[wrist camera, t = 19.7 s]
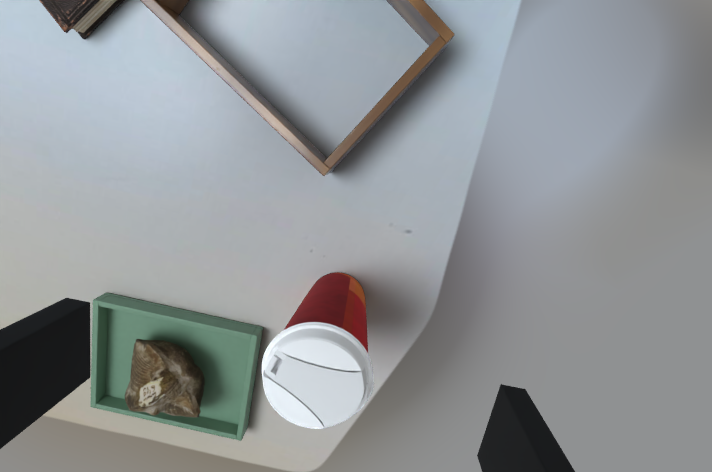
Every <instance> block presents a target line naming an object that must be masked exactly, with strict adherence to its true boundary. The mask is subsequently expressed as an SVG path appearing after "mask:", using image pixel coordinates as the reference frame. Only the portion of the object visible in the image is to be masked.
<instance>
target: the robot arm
mask: <svg viewBox="0 0 712 472" xmlns="http://www.w3.org/2000/svg"><path fill="white" fill-rule="evenodd" d="M89 378H90V302H85V301H80V300H74V299H69V298H65V299H63V300H61V301H59V302H57V303H55V304H53V305H51V306H49V307H47V308H44V309H42V310H40V311H38V312H36V313H34V314H32V315H30V316H28V317H26V318H24V319H22V320H20V321H18V322H15V323H13V324H11V325H9V326H7V327H5V328H3V329H1V330H0V449H1V448H2V447H3V446H4V445H6V444H7V443H8V442H9V441H11V440H12V439H13V438H14V437H16V436H17V435H18V434H20V433H21V432H22V431H23V430H25V429H26V428H27V427H28V426H30V425H31V424H32V423H33V422H35V421H36V420H37V419H38V418H40V417H41V416H42V415H43V414H45V413H46V412H47V411H48V410H50V409H51V408H52V407H53V406H55V405H56V404H57V403H58V402H60V401H61V400H62V399H63V398H65V397H66V396H67V395H68V394H70V393H71V392H72V391H74V390H75V389H76V388H77V387H79V386H80V385H81V384H82V383H84V382H85V381H86V380H87V379H89ZM477 456H478V459H479V462H480V465H481V469H482V472H575V471H574V469H573V468H572V466H571V464H570V463H569V461H568V459H567V458H566V456H565V454H564V453H563V451H562V449H561V448H560V446H559V445H558V443H557V441H556V439H555V438H554V436H553V434H552V433H551V431H550V429H549V428H548V426H547V424H546V423H545V421H544V420H543V418H542V416H541V415H540V413H539V411H538V410H537V408H536V406H535V405H534V403H533V401H532V400H531V398H530V396H529V395H528V393H527V391H526V390H525V389H521V388H516V387H511V386H506V385H501V386H500V389H499V392H498V394H497V397H496V401H495V404H494V407H493V410H492V413H491V416H490V419H489V422H488V425H487V428H486V431H485V434H484V437H483V440H482V443H481V446H480V449H479V452H478V455H477Z"/></svg>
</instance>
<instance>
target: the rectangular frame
mask: <svg viewBox="0 0 712 472" xmlns="http://www.w3.org/2000/svg"><path fill="white" fill-rule="evenodd" d="M140 1H142V2H143V3H144V4H145V5H146V6H147V7H148V8H149V9H150V10H151V11H152V12H153V13H154V14H155V15H156V16H157V17H158V18H159V19H160V20H161V21H162V22H163V23H164V24H165V25H167V26H168V27H169V28H170V29H171V30H172V31H173V32H174V33H175V34H176V35H177V36H178V37H179V38H180V39H181V40H182V41H183V42H184V43H185V44H186V45H187V46H188V47H189V48H191V49H192V50H193V51H194V52H195V53H196V54H197V55H198V56H199V57H200V58H201V59H202V60H203V61H204V62H205V63H206V64H207V65H208V66H209V67H210V68H211V69H212V70H213V71H215V72H216V73H217V74H218V75H219V76H220V77H221V78H222V79H223V80H224V81H225V82H226V83H227V84H228V85H229V86H230V87H231V88H232V89H233V90H234V91H235V92H236V93H237V94H239V95H240V96H241V97H242V98H243V99H244V100H245V101H246V102H247V103H248V104H249V105H250V106H251V107H252V108H253V109H254V110H255V111H256V112H257V113H258V114H259V115H260V116H261V117H262V118H264V119H265V120H266V121H267V122H268V123H269V124H270V125H271V126H272V127H273V128H274V129H275V130H276V131H277V132H278V133H279V134H280V135H281V136H282V137H283V138H284V139H285V140H286V141H288V142H289V143H290V144H291V145H292V146H293V147H294V148H295V149H296V150H297V151H298V152H299V153H300V154H301V155H302V156H303V157H304V158H305V159H306V160H307V161H308V162H309V163H310V164H312V165H313V166H314V167H315V168H316V169H317V170H318V171H319V172H320V173H321V174H322V175H323V176H325V175H327V174H329V173H331V172H332V171H333V169H334V168H335V167H336V166H337V165H338V164H339V163H340V162H341V161H342V160H343V159H344V158H345V157H346V155H347V154H348V153H349V152H350V151H351V150H352V149H353V148H354V147H355V146H356V145H357V144H358V142H359V141H360V140H361V139H362V138H363V137H364V136H365V135H366V134H367V133H368V132H369V131H370V129H371V128H372V127H373V126H374V125H375V124H376V123H377V122H378V121H379V120H380V119H381V118H382V116H383V115H384V114H385V113H386V112H387V111H388V110H389V109H390V108H391V107H392V106H393V105H394V103H395V102H396V101H397V100H398V99H399V98H400V97H401V96H402V95H403V94H404V93H405V92H406V91H407V89H408V88H409V87H410V86H411V85H412V84H413V83H414V82H415V81H416V80H417V79H418V78H419V76H420V75H421V74H422V73H423V72H424V71H425V70H426V69H427V68H428V67H429V66H430V65H431V63H432V62H433V61H434V60H435V59H436V58H437V57H438V56H439V55H440V54H441V53H442V52H443V51H444V49H445V48H446V47H447V45H448V44H449V42H450V41H451V39H452V38H453V36H454V33H453V32H452V31H451V30H450V29H449V28H448V26H447V25H446V24H445V23H444V22H443V21H442V20H441V19H440V18H439V17H438V16H437V14H436V13H435V12H434V11H433V10H432V9H431V8H430V7H429V6H428V5H427V4H426V2H425V1H424V0H387V1H388V2H389V3H390V4H391V5H392V7H393V8H394V9H395V10H396V11H397V12H398V13H399V14H400V15H401V16H402V17H403V18H404V19H405V20H406V22H407V23H408V24H409V25H410V26H411V27H412V28H413V29H414V30H415V31H416V32H417V33H418V34H419V35H420V37H421V38H422V39H423V40H424V41H425V42H426V43H427V44H428V45H429V47H428V48H427V49H426V50H425V52H424V53H423V54H422V55H421V56H420V57H419V58H418V59H417V60H416V61H415V63H414V64H413V65H412V66H411V67H410V68H409V69H408V70H407V71H406V72H405V74H404V75H403V76H402V77H401V78H400V79H399V80H398V81H397V82H396V83H395V85H394V86H393V87H392V88H391V89H390V90H389V91H388V92H387V93H386V94H385V95H384V97H383V98H382V99H381V100H380V101H379V102H378V103H377V104H376V105H375V106H374V108H373V109H372V110H371V111H370V112H369V113H368V114H367V115H366V116H365V117H364V119H363V120H362V121H361V122H360V123H359V124H358V125H357V126H356V127H355V128H354V130H353V131H352V132H351V133H350V134H349V135H348V136H347V137H346V138H345V139H344V140H343V142H342V143H341V144H340V145H339V146H338V147H337V148H336V149H335V150H334V151H333V153H332V154H331V155H330V156H329V157H328V158H326V157H325V156H324V155H323V154H322V153H321V152H320V151H319V150H318V149H317V148H316V147H315V146H314V145H313V144H312V143H311V142H310V141H309V140H307V139H306V138H305V137H304V136H303V135H302V134H301V133H300V132H299V131H298V130H297V129H296V128H295V127H294V126H293V125H292V124H291V123H290V122H289V121H288V120H287V119H286V118H285V117H284V116H283V115H282V114H281V113H280V112H279V111H278V110H277V109H275V108H274V107H273V106H272V105H271V104H270V103H269V102H268V101H267V100H266V99H265V98H264V97H263V96H262V95H261V94H260V93H259V92H258V91H257V90H256V89H255V88H254V87H253V86H252V85H251V84H250V83H249V82H248V81H247V80H246V79H244V78H243V77H242V76H241V75H240V74H239V73H238V72H237V71H236V70H235V69H234V68H233V67H232V66H231V65H230V64H229V63H228V62H227V61H226V60H225V59H224V58H223V57H222V56H221V55H220V54H219V53H218V52H217V51H216V50H215V49H214V48H212V47H211V46H210V45H209V44H208V43H207V42H206V41H205V40H204V39H203V38H202V37H201V36H200V35H199V34H198V33H197V32H196V31H195V30H194V29H193V28H192V27H191V26H190V25H189V24H188V23H187V22H186V21H185V20H184V19H183V18H182V17H180V16H179V15H178V14H180V13H181V11H182V10H183V9H184V7H185V6H186V4H187V3H188V1H189V0H140Z"/></svg>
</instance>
